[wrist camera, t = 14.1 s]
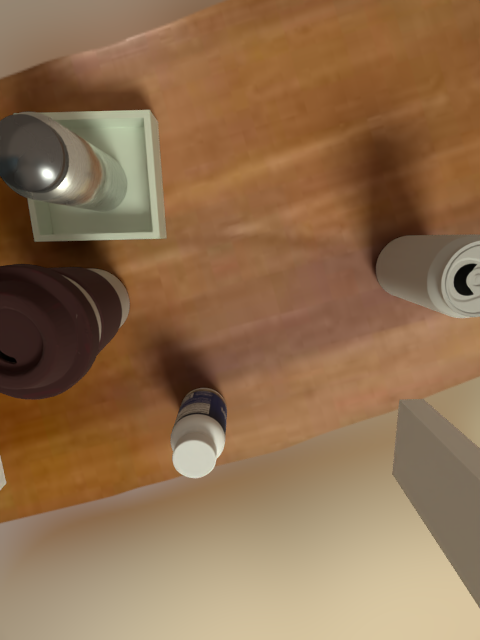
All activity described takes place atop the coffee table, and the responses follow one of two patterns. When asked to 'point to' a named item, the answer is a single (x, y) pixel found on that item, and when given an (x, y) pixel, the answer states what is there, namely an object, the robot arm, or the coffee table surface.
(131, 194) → the tray
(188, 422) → the pill bottle
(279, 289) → the coffee table surface
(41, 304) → the coffee cup
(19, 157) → the shaker
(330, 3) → the coffee table surface
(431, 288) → the beverage can
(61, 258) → the coffee table surface
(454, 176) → the coffee table surface
